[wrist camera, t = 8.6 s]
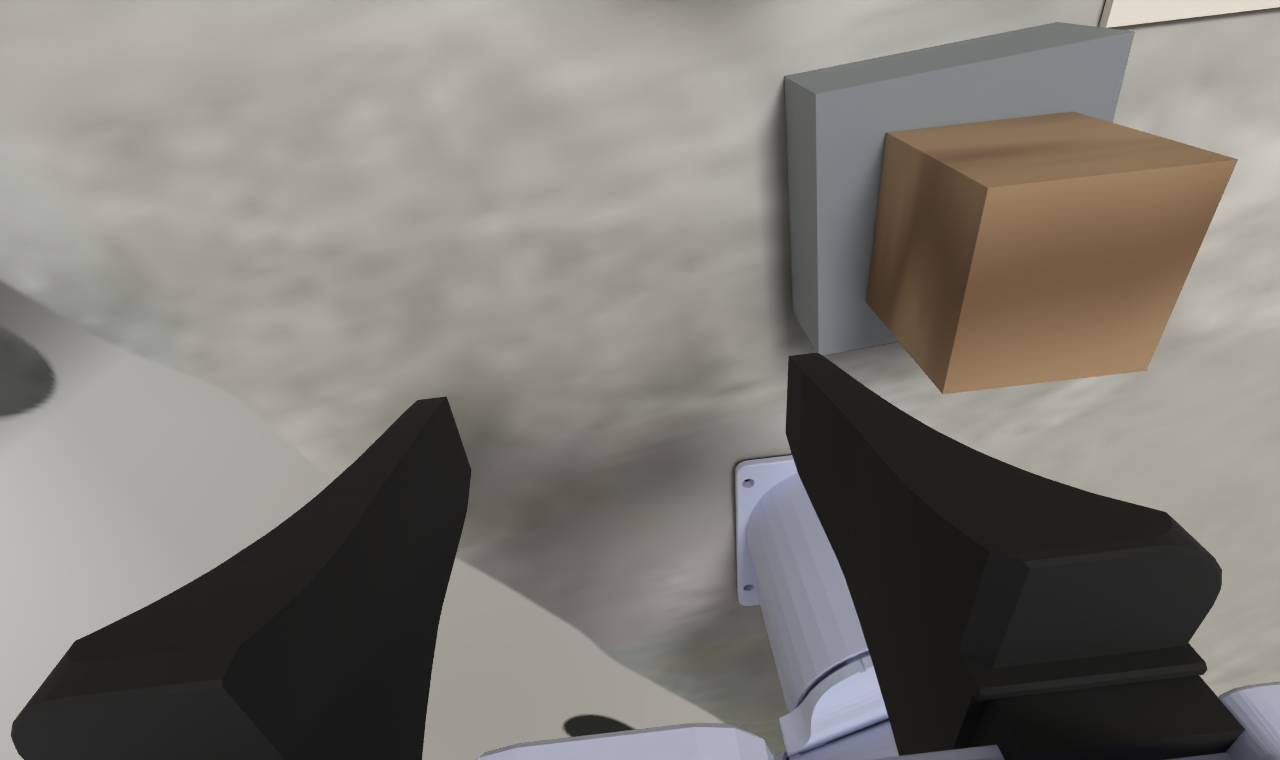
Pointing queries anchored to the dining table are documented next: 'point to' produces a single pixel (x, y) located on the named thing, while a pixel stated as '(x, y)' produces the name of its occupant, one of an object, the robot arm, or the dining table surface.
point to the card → (1173, 10)
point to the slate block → (905, 100)
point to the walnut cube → (1036, 246)
